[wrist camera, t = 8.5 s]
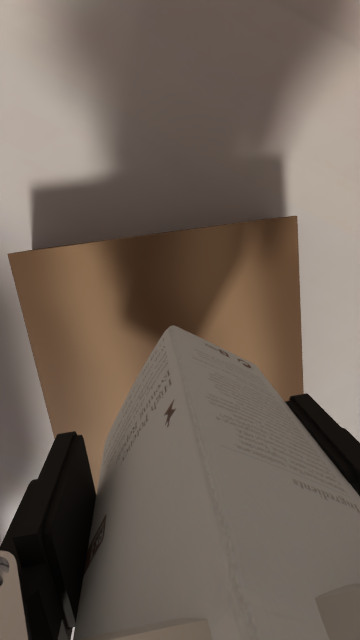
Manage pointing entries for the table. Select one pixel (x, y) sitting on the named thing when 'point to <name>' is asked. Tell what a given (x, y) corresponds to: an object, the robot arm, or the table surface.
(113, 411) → the walnut base
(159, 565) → the skincare box
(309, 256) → the table surface
